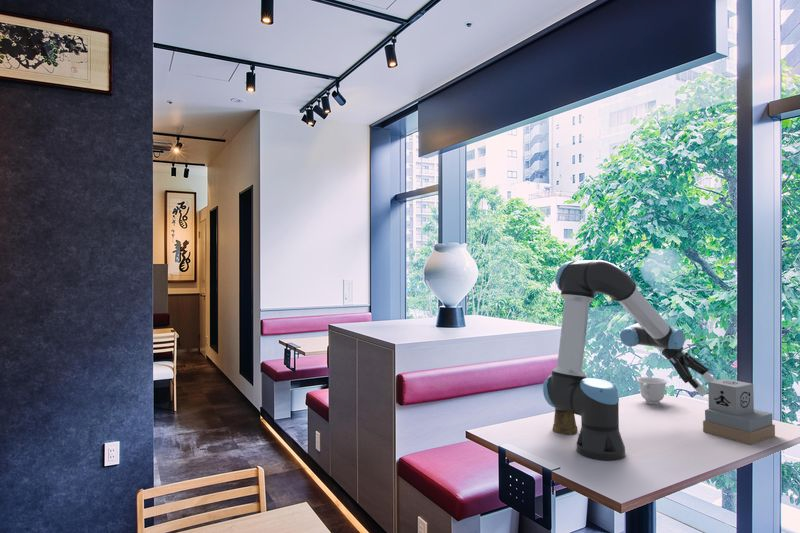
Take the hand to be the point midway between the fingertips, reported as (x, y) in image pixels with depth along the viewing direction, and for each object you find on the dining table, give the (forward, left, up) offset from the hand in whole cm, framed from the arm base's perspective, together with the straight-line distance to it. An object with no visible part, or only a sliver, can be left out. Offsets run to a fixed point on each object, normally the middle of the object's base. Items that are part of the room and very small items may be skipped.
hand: (711, 391), depth 189 cm
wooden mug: (-34, +41, -14) cm, 55 cm away
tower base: (-1, -8, -14) cm, 16 cm away
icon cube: (0, -6, -6) cm, 9 cm away
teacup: (+21, +28, -14) cm, 38 cm away
